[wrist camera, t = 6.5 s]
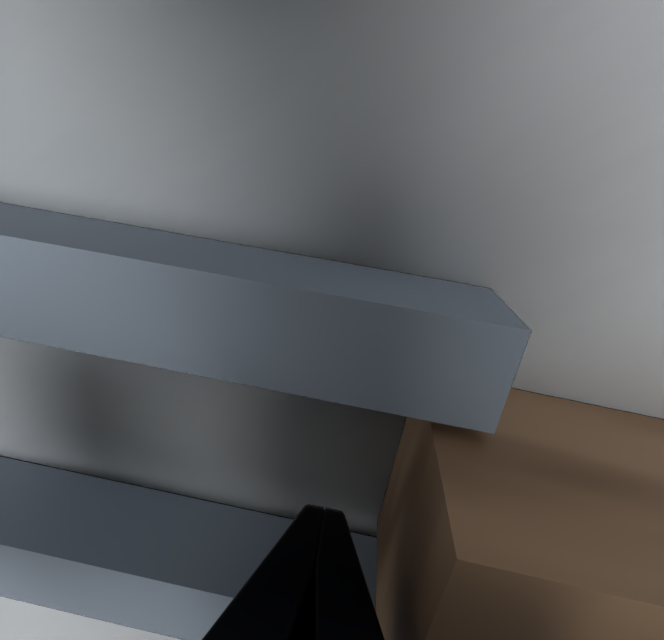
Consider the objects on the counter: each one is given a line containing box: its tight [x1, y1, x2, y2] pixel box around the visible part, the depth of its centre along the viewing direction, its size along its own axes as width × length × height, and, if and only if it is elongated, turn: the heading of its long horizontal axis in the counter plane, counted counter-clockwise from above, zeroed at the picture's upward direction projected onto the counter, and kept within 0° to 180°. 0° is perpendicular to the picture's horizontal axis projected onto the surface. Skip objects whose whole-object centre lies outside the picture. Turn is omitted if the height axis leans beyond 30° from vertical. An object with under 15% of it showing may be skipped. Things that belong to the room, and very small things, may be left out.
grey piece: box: [0, 203, 531, 640], centre depth 10 cm, size 10×18×2 cm, turn 81°
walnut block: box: [376, 388, 664, 640], centre depth 8 cm, size 5×8×5 cm, turn 80°
